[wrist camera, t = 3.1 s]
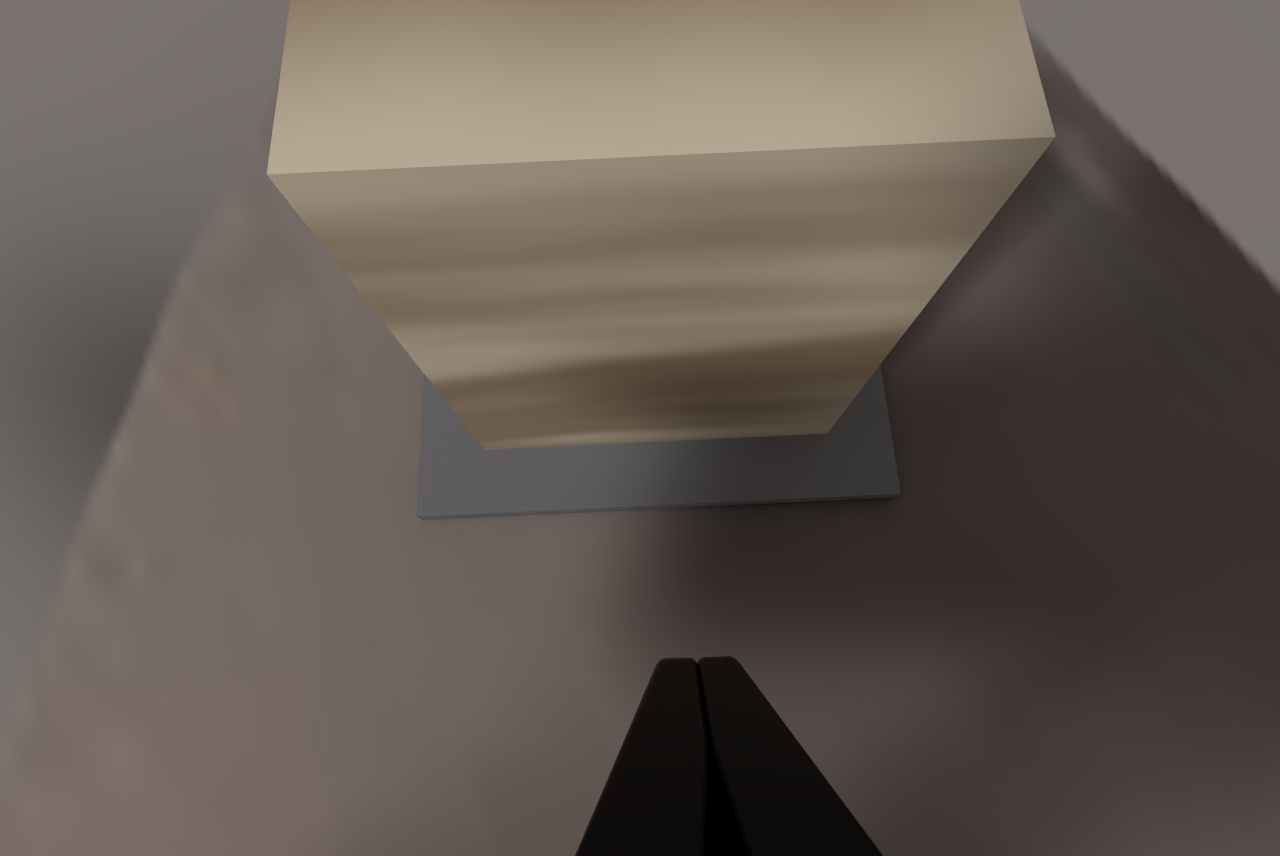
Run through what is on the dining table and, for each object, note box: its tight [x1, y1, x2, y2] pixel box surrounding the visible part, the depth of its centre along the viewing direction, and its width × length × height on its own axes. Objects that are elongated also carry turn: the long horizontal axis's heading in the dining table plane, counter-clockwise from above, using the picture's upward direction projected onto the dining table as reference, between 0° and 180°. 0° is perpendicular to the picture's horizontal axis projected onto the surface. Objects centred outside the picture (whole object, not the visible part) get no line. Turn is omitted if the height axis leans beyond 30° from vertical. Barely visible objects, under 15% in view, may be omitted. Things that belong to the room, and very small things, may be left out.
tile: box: [267, 0, 1056, 450], centre depth 13 cm, size 3×8×10 cm, turn 93°
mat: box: [417, 364, 901, 520], centre depth 19 cm, size 16×11×1 cm
